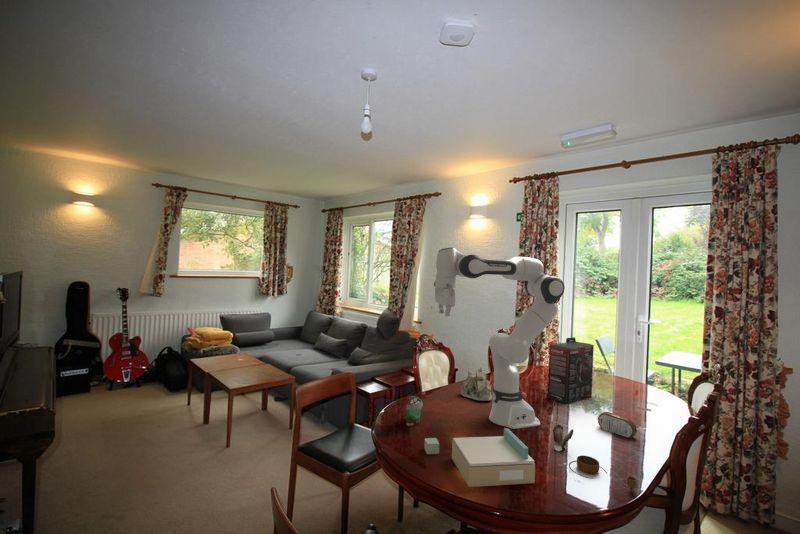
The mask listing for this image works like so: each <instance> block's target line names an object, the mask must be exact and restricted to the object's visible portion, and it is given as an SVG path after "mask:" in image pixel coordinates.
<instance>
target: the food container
mask: <svg viewBox="0 0 800 534" xmlns="http://www.w3.org/2000/svg"><path fill="white" fill-rule="evenodd" d="M423 406H424V404H423V400H422V399H421V398H420V397H418V396H416V395H415V396H414V395H411V396H410V400H409V401H408V404H406V423H405V424H406V425H405V426H406V427H408V428H413V427H417V426H419V425H420V422H421V412H422V408H423Z"/></svg>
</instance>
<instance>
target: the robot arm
mask: <svg viewBox="0 0 800 534" xmlns="http://www.w3.org/2000/svg"><path fill="white" fill-rule="evenodd" d="M435 262H436V263H435V264H436V265H435V269H436V274H435V281H433V287H434V300H435V303H437V304H438V312H439V314H440V315H443V314H444V316H445V317H450V315H451V311H452V308H453V307H455V306H456V290H455V289H456V277H457V276H459V277H462V278H468V279H477V278H480V277H481V276H486V275H494V276H495V275H496V276H497V275H499V276H502V278H504V279H506V280H510V281H523V282H524V290H525V292H526V293H527V294H528V296H531V297H532V298H535V299H534V301H533V303H532V305H531V306H530V307H529V308H527V310H526V311H524V313H523V314H522V315H520V316H519V317H518V319H517V320H516V321H515V325H514V328H513V330H512V332H510V334H508V333H505V332H497V333H494V334H492V335H491V336H490V338H489V341H488V345H489V349H490V351H491V358H492V364H493V388H492V392H491V394H492V399H491V401H492V402H491V410H490V413H489V416H488V420H489V421H490V422H492V423H494V424H496V425H497V426H498V425H499V426H501V427H505V428H508V429H512V430H513V429H514V430H515V429H523V428H532V427H536V426H537V427H538V426H540V425H541V421H540V420H539V418H538V417H537V416H536V415H535V410H534V408H533V407H532V406H531V405H530V404H529V403H528V402H527V401H525V399H526V398H527V395H528V394H527V393H526V392H522V390H519V389H520V388H519V387H520V372H519V370H518V367H517V364H523V363H525V362H526V361H527V359H528V358H529V354H530V348H531V346H532V344H533V342H534V341H535V339H536V338H537V337H538V336H539V335H540V333H542V332H543V331H544V329H546V327H547V326H548V325H549V324H550V323H551V322H552V321H553V320H554V318H555V317H556V314H557V313H558V310H559V309H558V305H557V304H558V303H559V302H560V301H561V298H562V296H563V295H564V293H565V287H566V286H565V283H564V281H563V280H562V279H561V278H559V277H558V276H555V275H548V274H545V273H544V264H543V263H542V261H541V260H539V259H537V258H533V257H527V256H517V255H516V256H507V257H504V258H503V259H500V260H497V259H485V258H483V257H481V256H479V255H477V254H467V255H466V254H464V253H462V252H460V251H459V250H457V249H456V248H455V247H445V248H441V249H439V250H438V251H437V255H436V261H435ZM444 307H445V310H444ZM523 398H524V399H523Z"/></svg>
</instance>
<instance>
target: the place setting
mask: <svg viewBox="0 0 800 534" xmlns="http://www.w3.org/2000/svg"><path fill="white" fill-rule="evenodd" d="M572 463H576V467H577V469H579V471H580V472H582V473H584V474H587V475H596V474H598V472H599V470H600V469H602V470H603V471H604V472H605V474H608V472H607V471H606V470H605V469H604V467H601V466H600V461H598V459H596V458H594V457H592V456H588V455H579V456H577V457H576V460H573V461H570V462H569V464H568V468H569V469H570V470H571V471H572V472H573V473H575V474H576V475H579V476H580V477H584V478H586V479H587V478H588V479H589V477H588V476H584V475H582V474H579V473H578V472H576V471H574V470H573V469H572V468H571V464H572ZM590 479H594V478H593V477H590ZM626 484H627V487H629V493H634V491H633V489H635V488H636V487H637V479H636V478H635V477H633V476H627V477H626Z"/></svg>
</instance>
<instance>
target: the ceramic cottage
mask: <svg viewBox="0 0 800 534" xmlns="http://www.w3.org/2000/svg"><path fill="white" fill-rule="evenodd" d="M472 373H473V372H472V371H471V370H468V373H467V378H466V379H465V380H464V381H463V382H462V389H461V393H460V395H461V396H463V397H465V398H468V399H471V400H476V401H492V386H491V381H489V380H488V379H487V378H486V377H487V376H486V372H485V371H483V367H479V369H478V370H477V371H476V372H475V378H474V377H473V376H472V375H473V374H472Z"/></svg>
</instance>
